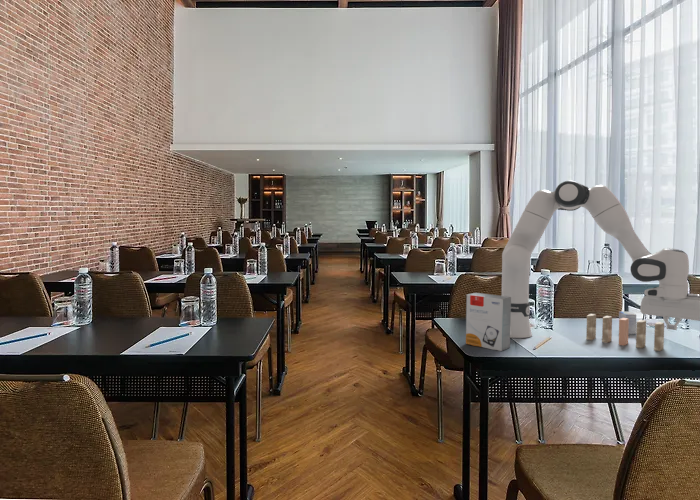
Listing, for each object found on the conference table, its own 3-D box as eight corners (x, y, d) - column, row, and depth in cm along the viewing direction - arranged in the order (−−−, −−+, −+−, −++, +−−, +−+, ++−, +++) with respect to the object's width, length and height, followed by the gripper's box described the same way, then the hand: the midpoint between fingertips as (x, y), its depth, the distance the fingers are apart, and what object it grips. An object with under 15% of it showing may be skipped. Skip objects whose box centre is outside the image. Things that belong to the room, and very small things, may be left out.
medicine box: (636, 334, 202) (636, 314, 202) (625, 334, 203) (625, 314, 203) (629, 330, 210) (629, 311, 209) (618, 330, 211) (619, 311, 210)
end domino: (654, 350, 176) (654, 323, 176) (657, 347, 180) (658, 321, 179) (660, 351, 175) (661, 324, 175) (663, 348, 179) (664, 322, 178)
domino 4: (635, 347, 181) (636, 321, 180) (639, 345, 184) (640, 319, 184) (641, 348, 179) (642, 322, 179) (645, 345, 183) (646, 320, 182)
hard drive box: (464, 344, 186) (465, 294, 185) (474, 341, 191) (475, 292, 190) (501, 351, 175) (502, 298, 174) (510, 347, 180) (511, 296, 180)
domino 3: (618, 344, 185) (619, 319, 184) (622, 342, 188) (623, 317, 188) (624, 345, 184) (625, 320, 183) (628, 343, 187) (628, 318, 187)
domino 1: (586, 339, 194) (586, 315, 193) (590, 337, 197) (591, 313, 197) (591, 340, 192) (592, 316, 192) (595, 338, 196) (596, 314, 195)
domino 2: (602, 341, 189) (602, 317, 189) (606, 339, 193) (606, 315, 192) (607, 342, 188) (608, 318, 187) (611, 340, 191) (612, 316, 191)
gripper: (709, 294, 168) (708, 332, 169) (644, 288, 183) (643, 324, 184) (706, 296, 164) (704, 335, 165) (639, 290, 178) (638, 326, 179)
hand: (671, 329), depth 174 cm, fingers closed
